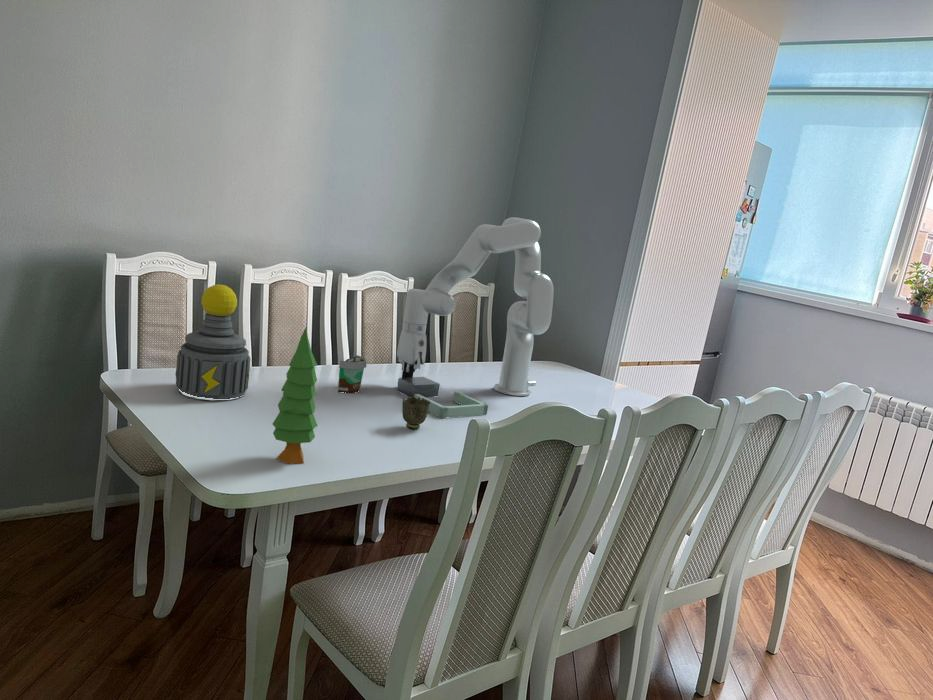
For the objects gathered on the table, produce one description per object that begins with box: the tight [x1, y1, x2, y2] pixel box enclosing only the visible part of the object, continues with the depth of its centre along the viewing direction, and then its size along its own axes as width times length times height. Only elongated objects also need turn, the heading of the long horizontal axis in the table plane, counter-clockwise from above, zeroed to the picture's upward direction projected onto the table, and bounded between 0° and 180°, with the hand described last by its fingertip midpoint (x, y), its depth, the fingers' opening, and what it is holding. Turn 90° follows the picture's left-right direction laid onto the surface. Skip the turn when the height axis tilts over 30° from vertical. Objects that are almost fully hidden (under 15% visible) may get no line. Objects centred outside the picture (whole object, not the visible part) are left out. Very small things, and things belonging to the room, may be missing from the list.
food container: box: [337, 354, 367, 394], centre depth 225 cm, size 12×6×10 cm, turn 168°
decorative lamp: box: [175, 284, 251, 399], centre depth 199 cm, size 19×19×30 cm
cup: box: [401, 396, 430, 431], centre depth 196 cm, size 8×7×8 cm
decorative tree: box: [272, 326, 318, 465], centre depth 160 cm, size 10×9×30 cm
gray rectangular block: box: [396, 376, 441, 398], centre depth 234 cm, size 10×8×4 cm
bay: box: [414, 391, 489, 419], centre depth 221 cm, size 17×14×3 cm
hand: (406, 383), depth 238 cm, fingers closed
